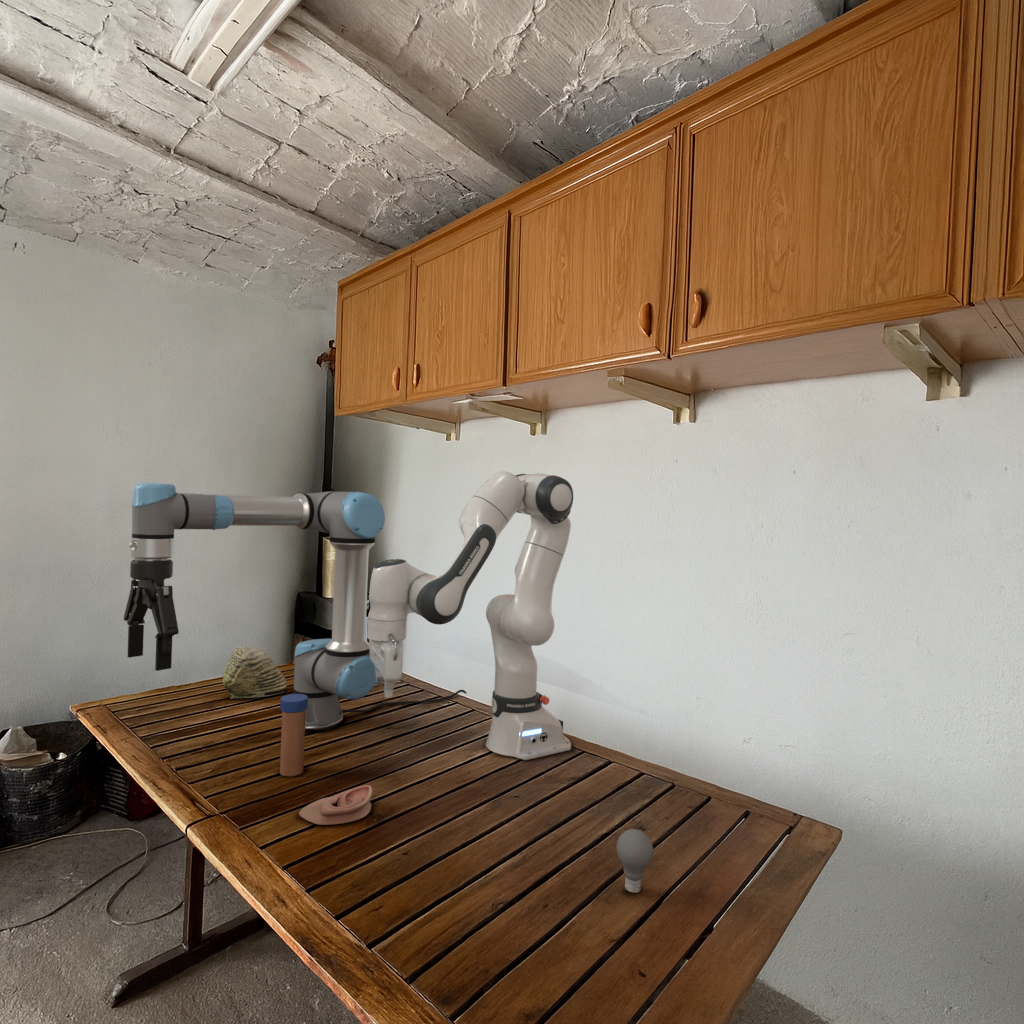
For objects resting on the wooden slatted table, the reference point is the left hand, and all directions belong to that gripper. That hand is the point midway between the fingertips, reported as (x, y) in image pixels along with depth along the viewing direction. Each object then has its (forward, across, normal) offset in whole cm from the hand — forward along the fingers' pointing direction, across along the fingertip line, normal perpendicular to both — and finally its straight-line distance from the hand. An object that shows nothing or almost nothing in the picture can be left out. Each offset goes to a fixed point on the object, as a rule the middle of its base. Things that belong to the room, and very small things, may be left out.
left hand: (148, 662), depth 129 cm
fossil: (+28, -47, +50) cm, 74 cm away
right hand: (+8, +26, +40) cm, 49 cm away
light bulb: (+28, +90, +41) cm, 103 cm away
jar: (+28, +10, +28) cm, 41 cm away
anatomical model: (+28, +33, +23) cm, 49 cm away
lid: (+11, +10, +28) cm, 31 cm away
